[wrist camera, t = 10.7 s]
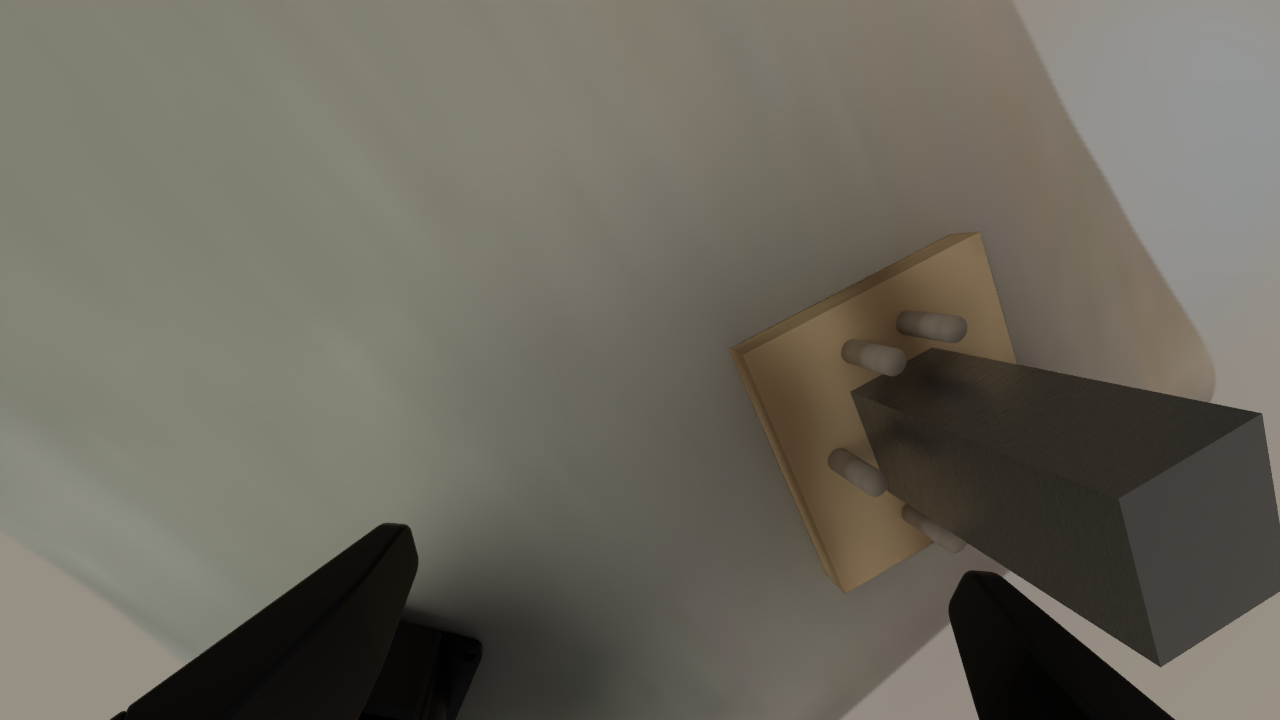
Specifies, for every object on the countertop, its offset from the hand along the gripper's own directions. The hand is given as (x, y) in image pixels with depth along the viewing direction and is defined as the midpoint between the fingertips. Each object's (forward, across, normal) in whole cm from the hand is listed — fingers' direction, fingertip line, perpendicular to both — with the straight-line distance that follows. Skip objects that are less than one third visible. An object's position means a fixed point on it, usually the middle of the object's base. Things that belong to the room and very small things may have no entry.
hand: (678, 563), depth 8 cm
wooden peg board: (+14, -10, +6) cm, 18 cm away
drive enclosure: (+13, -10, +6) cm, 17 cm away
